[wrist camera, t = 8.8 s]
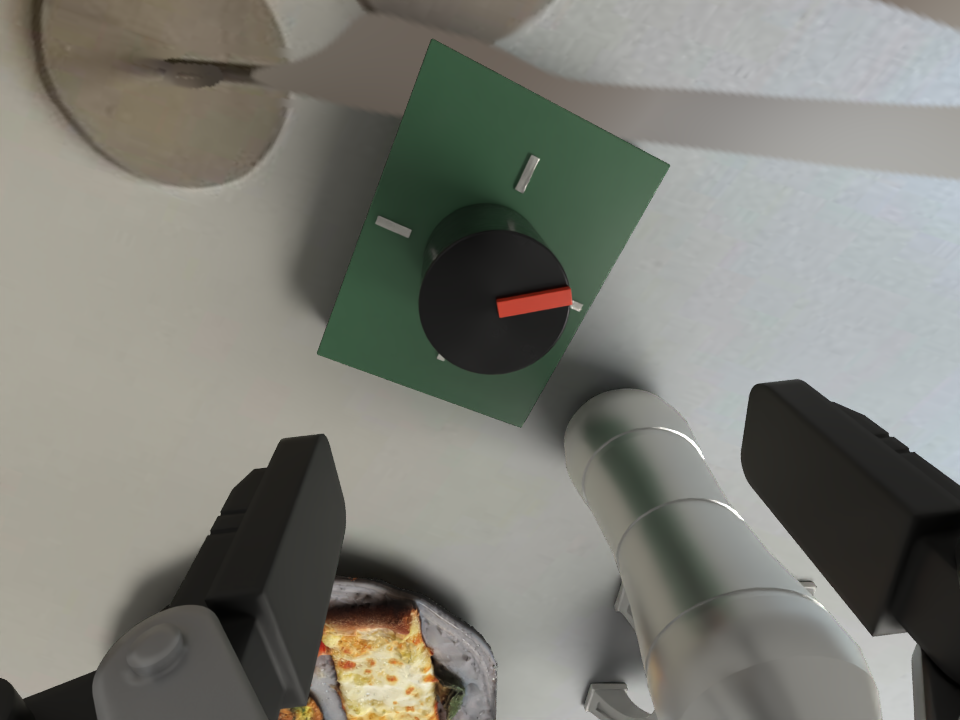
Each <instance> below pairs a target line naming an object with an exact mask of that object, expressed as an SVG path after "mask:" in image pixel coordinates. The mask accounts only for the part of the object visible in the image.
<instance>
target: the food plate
mask: <svg viewBox="0 0 960 720" xmlns="http://www.w3.org/2000/svg"><path fill="white" fill-rule="evenodd" d="M402 589H403V588H402ZM402 589H401V588H398V587H396V586H394V585H392V584H390V583H386V581H383V580H382V579H380V580H377V579H375V578H374V579H371V578H363V577H362V578H351V577H350V576H349V578H347V577H346V576H335V580H334V584H333V589H332V593H331V598H330V602H329V607H328V611H327V616H326V620H325V625H324V629H323V634H322V638H321V643H320V647H319V652H318V656H317V661H316V665H315V670H314V674H313V679H312V683H311V688H310V692H309V697H308V701H307V706H302V707H294V708H286V709H280V713H279V717H278V720H496V697H497V678H495V677H496V676H497V672H496V670H495V668H496V667H495V668H494V665H496V666H497V663H496V661H495V659H494V656H493V653H492V651H491V648H490V646H489V644H488V643H486V641H485V639H484V638H483V636H482V635H481V634H479V632H477V631H476V630H475V629H474V627H473V626H470V625H469V624H468V623H466V622H465V621H461V619H460V618H458V617H456V616H455V615H453V614H452V613H451V612H448V611H447V610H446V609H444V607H441V606H440V604H436V602H434V601H433V600H432V599H429V598H428V597H426V596H425V595H424V594H423V595H422V593H418V592H414V591H410V590H406V589H405V590H402ZM169 607H170V606H169V605H168V606H166V608H164V609H163V610H162V611H164V610H166V609H168V608H169ZM160 612H161V611H160Z"/></svg>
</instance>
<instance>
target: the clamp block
mask: <svg viewBox="0 0 960 720" xmlns="http://www.w3.org/2000/svg"><path fill="white" fill-rule="evenodd" d="M669 167H670V165H669V164H667V163H666V162H664V161H662V160H660V159H658V158H656V157H654V156H652V155H651V154H649V153H647V152H645V151H643V150H641V149H639V148H637V147H635V146H634V145H632V144H630V143H628V142H626V141H624V140H622V139H620V138H619V137H617V136H615V135H613V134H611V133H609V132H607V131H605V130H603V129H602V128H600V127H598V126H596V125H594V124H592V123H590V122H589V121H587V120H584V119H583V118H581V117H579V116H577V115H575V114H573V113H572V112H570V111H568V110H566V109H564V108H562V107H560V106H558V105H557V104H555V103H553V102H551V101H549V100H547V99H545V98H543V97H541V96H540V95H538V94H536V93H534V92H532V91H530V90H528V89H526V88H525V87H523V86H521V85H519V84H517V83H515V82H513V81H511V80H509V79H508V78H506V77H504V76H502V75H500V74H498V73H496V72H495V71H493V70H491V69H489V68H487V67H485V66H483V65H481V64H479V63H478V62H476V61H474V60H472V59H470V58H468V57H466V56H464V55H462V54H460V53H459V52H457V51H455V50H453V49H451V48H449V47H447V46H446V45H443V44H442V43H440V42H438V41H436V40H434V39H431V41H430V44H429V46H428V49H427V52H426V55H425V58H424V60H423V63H422V66H421V68H420V71H419V74H418V77H417V79H416V82H415V85H414V88H413V90H412V93H411V96H410V99H409V101H408V104H407V107H406V110H405V112H404V115H403V118H402V121H401V123H400V126H399V129H398V132H397V134H396V137H395V140H394V143H393V145H392V148H391V151H390V154H389V156H388V159H387V162H386V165H385V167H384V170H383V173H382V176H381V178H380V181H379V184H378V187H377V189H376V192H375V195H374V197H373V200H372V203H371V206H370V208H369V211H368V214H367V217H366V219H365V222H364V225H363V228H362V230H361V233H360V236H359V239H358V241H357V244H356V247H355V250H354V252H353V255H352V258H351V261H350V263H349V266H348V269H347V272H346V274H345V277H344V280H343V283H342V285H341V288H340V291H339V294H338V296H337V299H336V302H335V305H334V307H333V310H332V313H331V316H330V318H329V321H328V324H327V327H326V329H325V332H324V335H323V338H322V340H321V343H320V346H319V348H318V351H317V354H318V355H320V356H323V357H326V358H328V359H331V360H334V361H337V362H340V363H342V364H345V365H348V366H351V367H353V368H356V369H359V370H362V371H365V372H367V373H370V374H373V375H376V376H378V377H381V378H384V379H387V380H390V381H392V382H395V383H398V384H401V385H403V386H406V387H409V388H412V389H415V390H417V391H420V392H423V393H426V394H428V395H431V396H434V397H437V398H440V399H442V400H445V401H448V402H451V403H453V404H456V405H459V406H462V407H465V408H467V409H470V410H473V411H476V412H478V413H481V414H484V415H487V416H490V417H492V418H495V419H498V420H501V421H503V422H506V423H509V424H512V425H515V426H517V427H520V428H521V427H522V426H523V424H524V422H525V421H526V419H527V417H528V415H529V413H530V412H531V410H532V408H533V406H534V405H535V403H536V401H537V399H538V398H539V396H540V394H541V392H542V391H543V389H544V387H545V385H546V384H547V382H548V380H549V378H550V377H551V375H552V373H553V371H554V369H555V368H556V366H557V364H558V362H559V361H560V359H561V357H562V355H563V354H564V352H565V350H566V348H567V347H568V345H569V343H570V341H571V340H572V338H573V336H574V334H575V333H576V331H577V329H578V327H579V326H580V324H581V322H582V320H583V318H584V317H585V315H586V313H587V311H588V310H589V308H590V306H591V304H592V303H593V301H594V299H595V297H596V296H597V294H598V292H599V290H600V289H601V287H602V285H603V283H604V282H605V280H606V278H607V276H608V275H609V273H610V271H611V269H612V267H613V266H614V264H615V262H616V260H617V259H618V257H619V255H620V253H621V252H622V250H623V248H624V246H625V245H626V243H627V241H628V239H629V238H630V236H631V234H632V232H633V231H634V229H635V227H636V225H637V223H638V222H639V220H640V218H641V216H642V215H643V213H644V211H645V209H646V208H647V206H648V204H649V202H650V201H651V199H652V197H653V195H654V194H655V192H656V190H657V188H658V187H659V185H660V183H661V181H662V180H663V178H664V176H665V174H666V172H667V171H668V169H669ZM479 203H492V204H499V205H502V206H505V207H508V208H510V209H512V210H514V211H516V212H518V213H519V214H521V215H522V216H523V217H524V218H526V219H527V220H528V221H529V222H530V223H531V225H532V226H533V227H534V228H535V230H536V231H537V232H538V233H539V235H540V236H541V237H542V239H543V240H544V241H545V243H546V244H547V245H548V247H549V248H550V249H551V250H552V252H553V253H554V254H555V256H556V257H557V258H558V260H559V261H560V263H561V264H562V266H563V268H564V270H565V272H566V274H567V278H568V281H569V285H570V288H571V293H572V305H571V308H570V314H569V318H568V322H567V324H566V327H565V329H564V331H563V333H562V335H561V337H560V338H559V340H558V341H557V342H556V344H555V345H554V346H553V347H552V349H551V350H550V351H549V352H548V353H547V354H546V355H544V356H543V357H542V358H541V359H539V360H538V361H536V362H535V363H533V364H532V365H530V366H528V367H526V368H523V369H521V370H518V371H515V372H511V373H507V374H499V375H485V374H478V373H473V372H469V371H467V370H464V369H461V368H459V367H457V366H455V365H453V364H452V363H450V362H449V361H447V360H446V359H444V358H443V357H442V356H441V355H440V354H439V353H438V352H437V351H436V350H435V349H434V348H433V346H432V345H431V344H430V342H429V340H428V339H427V337H426V335H425V333H424V331H423V328H422V325H421V322H420V317H419V311H418V299H419V290H420V280H421V271H422V262H423V254H424V250H425V246H426V243H427V241H428V238H429V237H430V235H431V233H432V231H433V230H434V229H435V227H436V226H437V225H438V224H439V223H440V222H441V221H442V220H443V219H444V218H445V217H446V216H448V215H449V214H450V213H452V212H454V211H456V210H457V209H460V208H462V207H465V206H468V205H472V204H479Z"/></svg>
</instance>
